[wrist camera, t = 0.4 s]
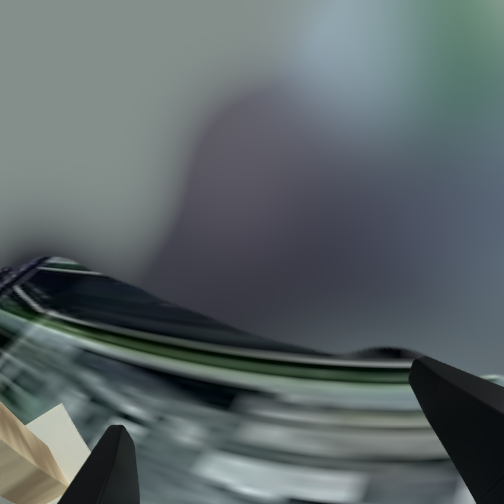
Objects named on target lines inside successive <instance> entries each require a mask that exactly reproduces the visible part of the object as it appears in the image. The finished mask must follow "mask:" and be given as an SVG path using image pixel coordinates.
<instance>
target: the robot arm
mask: <svg viewBox="0 0 504 504" xmlns="http://www.w3.org/2000/svg"><path fill="white" fill-rule="evenodd" d="M409 383H410V385H411V387H412V390H413V392H414V394H415V396H416V398H417V400H418V402H419V404H420V406H421V408H422V410H423V412H424V414H425V416H426V418H427V420H428V422H429V423H430V425H431V427H432V428H433V430H434V431H435V433H436V435H437V436H438V438H439V440H440V441H441V443H442V445H443V446H444V448H445V450H446V451H447V453H448V455H449V456H450V458H451V460H452V461H453V463H454V465H455V467H456V468H457V470H458V472H459V473H460V475H461V477H462V479H463V480H464V482H465V484H466V486H467V488H468V489H469V491H470V493H471V495H472V496H473V498H474V500H475V502H476V504H504V387H502V386H500V385H497V384H495V383H492V382H490V381H487V380H485V379H482V378H480V377H477V376H475V375H472V374H470V373H467V372H465V371H462V370H460V369H457V368H455V367H452V366H450V365H447V364H445V363H442V362H440V361H438V360H435V359H433V358H430V357H428V356H421V357H418V358H416V359H414V361H413V363H412V366H411V370H410V373H409ZM57 504H140V493H139V482H138V474H137V465H136V455H135V446H134V442H133V440H132V438H131V437H130V435H129V433H128V432H127V430H126V428H125V427H124V426H123V425H111V426H109V427H108V428H107V430H106V431H105V433H104V434H103V436H102V437H101V439H100V440H99V442H98V443H97V445H96V446H95V447H94V449H93V450H92V452H91V453H90V455H89V456H88V458H87V459H86V461H85V462H84V464H83V465H82V467H81V468H80V470H79V471H78V473H77V474H76V476H75V477H74V479H73V480H72V482H71V483H70V485H69V486H68V488H67V489H66V491H65V492H64V494H63V495H62V497H61V498H60V500H59V501H58V503H57Z"/></svg>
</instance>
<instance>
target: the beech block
mask: <svg viewBox="0 0 504 504" xmlns="http://www.w3.org/2000/svg"><path fill="white" fill-rule="evenodd" d="M68 486H69V484H68V482H67V481H66V479H65V477H64V476H63V474H62V472H61V470H60V468H59V467H58V465H57V463H56V461H55V459H54V457H53V455H52V453H51V451H50V449H49V447H48V446H47V445H46V444H45V443H44V442H43V441H41V440H40V439H39V438H38V437H37V436H36V435H35V434H33V433H32V432H31V431H30V430H29V429H28V428H27V427H26V426H25V425H24V424H23V423H21V422H20V421H19V420H18V419H17V418H16V417H15V416H14V415H13V414H12V413H11V412H10V411H9V410H8V409H7V408H6V407H5V406H4V405H3V404H2V403H1V402H0V496H1V497H3V498H5V499H7V500H9V501H11V502H13V503H15V504H47V503H49V502H50V501H52V500H54V499H56V498H57V497H59V496H61V495H63V494H64V492H65V491H66V489H67V488H68Z"/></svg>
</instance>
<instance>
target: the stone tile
mask: <svg viewBox="0 0 504 504" xmlns="http://www.w3.org/2000/svg"><path fill="white" fill-rule="evenodd" d="M25 426H26V427H27V428H28V429H29V430H30V431H31V432H32V433H33V434H35V435H36V436H37V437H38V438H39V439H40V440H41V441H43V442H44V443H45V444H46V445H47V446H48V447H49V449H50V451H51V453H52V455H53V457H54V459H55V461H56V463H57V465H58V467H59V468H60V470H61V472H62V474H63V476H64V477H65V479H66V481H67V482H68V484H69V485H70V483H71V482H72V480H73V479H74V477H75V476H76V474H77V473H78V471H79V470H80V468H81V467H82V465H83V464H84V462H85V461H86V459H87V458H88V456H89V455H90V453H91V451H90V450H89V448H88V447H87V445H86V443H85V442H84V440H83V439H82V437H81V435H80V434H79V432H78V430H77V429H76V427H75V425H74V423H73V422H72V420H71V418H70V416H69V414H68V413H67V411H66V409H65V407H64V405H63V404H62V403H61V404H59V405H58V406H56V407H55V408H53V409H51V410H50V411H48V412H46V413H45V414H43V415H42V416H40V417H38V418H37V419H35V420H34V421H32V422H30V423H29V424H27V425H25ZM61 497H62V495H61V496H59V497H57V498H56V499H54V500H52V501H50V502H49V503H47V504H57V503H58V501H59V500H60V498H61ZM0 504H15V503H13V502H11V501H9V500H7V499H5V498H3V497H1V496H0Z"/></svg>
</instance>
